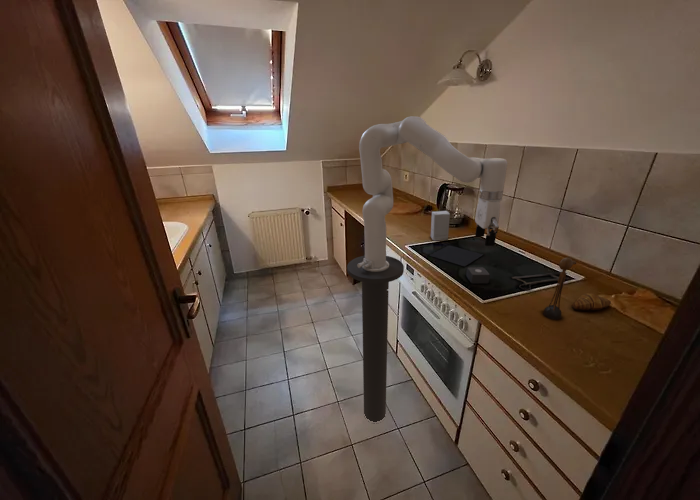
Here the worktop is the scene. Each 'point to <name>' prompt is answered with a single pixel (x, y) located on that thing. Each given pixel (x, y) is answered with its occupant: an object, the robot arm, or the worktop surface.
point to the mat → (456, 255)
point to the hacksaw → (538, 281)
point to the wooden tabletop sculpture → (558, 290)
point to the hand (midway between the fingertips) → (484, 240)
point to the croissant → (590, 302)
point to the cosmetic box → (440, 225)
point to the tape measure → (477, 275)
